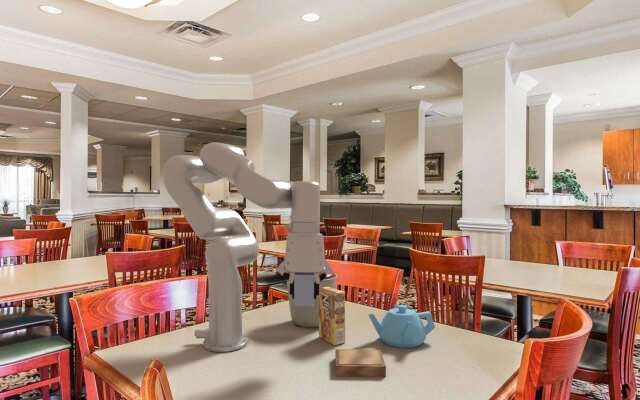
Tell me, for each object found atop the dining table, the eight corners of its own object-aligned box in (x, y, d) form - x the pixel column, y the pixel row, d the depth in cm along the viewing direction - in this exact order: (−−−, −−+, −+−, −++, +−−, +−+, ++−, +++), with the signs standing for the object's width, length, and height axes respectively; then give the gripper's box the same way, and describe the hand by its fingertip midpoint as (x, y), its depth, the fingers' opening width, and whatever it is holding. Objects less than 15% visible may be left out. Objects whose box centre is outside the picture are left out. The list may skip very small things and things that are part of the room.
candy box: (346, 343, 124) (346, 291, 124) (334, 345, 122) (334, 293, 122) (329, 334, 131) (329, 286, 131) (317, 337, 129) (317, 287, 129)
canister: (274, 322, 144) (274, 261, 144) (313, 312, 157) (313, 256, 156) (308, 335, 131) (308, 268, 131) (348, 323, 143) (348, 262, 143)
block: (294, 305, 107) (294, 274, 107) (295, 300, 112) (296, 271, 112) (313, 306, 107) (313, 275, 107) (314, 301, 112) (314, 271, 112)
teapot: (409, 355, 115) (410, 316, 115) (366, 341, 126) (366, 305, 126) (437, 341, 126) (437, 305, 126) (395, 330, 137) (395, 297, 137)
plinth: (335, 376, 101) (336, 365, 101) (335, 358, 112) (335, 348, 112) (385, 376, 101) (385, 365, 101) (380, 359, 112) (380, 349, 112)
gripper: (270, 229, 106) (270, 300, 106) (338, 230, 106) (337, 302, 106) (274, 226, 114) (274, 293, 114) (337, 227, 113) (336, 295, 113)
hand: (304, 297), depth 110 cm, fingers closed on block, 5 cm apart
